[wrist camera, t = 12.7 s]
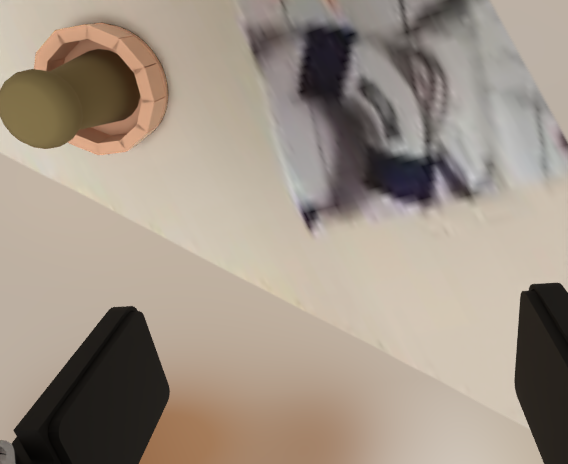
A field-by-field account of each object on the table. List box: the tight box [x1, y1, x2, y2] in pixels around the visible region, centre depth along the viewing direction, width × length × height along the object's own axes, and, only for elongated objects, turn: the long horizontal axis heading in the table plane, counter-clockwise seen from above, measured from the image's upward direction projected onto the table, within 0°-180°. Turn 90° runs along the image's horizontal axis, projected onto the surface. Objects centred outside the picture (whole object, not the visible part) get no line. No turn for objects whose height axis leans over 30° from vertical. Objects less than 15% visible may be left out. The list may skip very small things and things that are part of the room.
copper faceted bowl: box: [34, 23, 168, 155], centre depth 39 cm, size 10×10×4 cm
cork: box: [0, 49, 140, 149], centre depth 35 cm, size 6×6×11 cm
